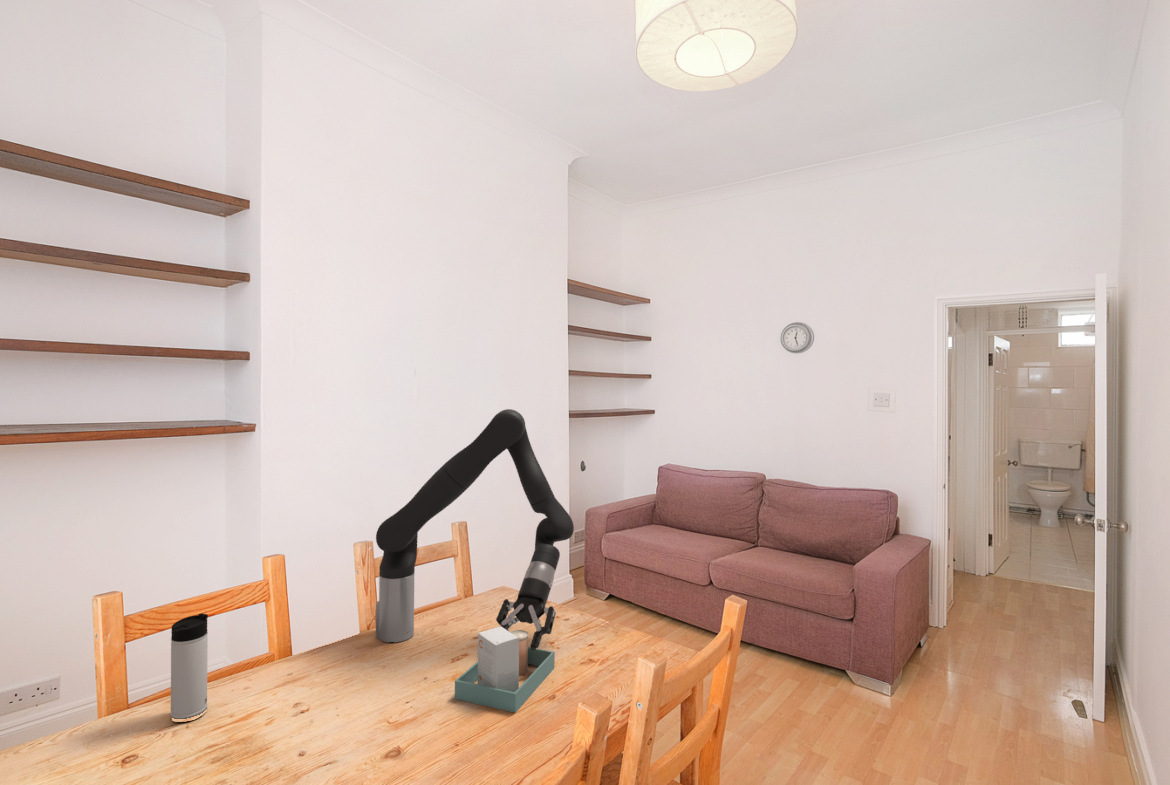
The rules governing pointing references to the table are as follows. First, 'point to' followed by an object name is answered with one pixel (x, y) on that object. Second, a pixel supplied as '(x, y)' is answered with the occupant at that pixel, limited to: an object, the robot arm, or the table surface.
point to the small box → (498, 659)
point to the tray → (504, 698)
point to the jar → (522, 650)
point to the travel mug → (189, 666)
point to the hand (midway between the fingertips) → (516, 645)
